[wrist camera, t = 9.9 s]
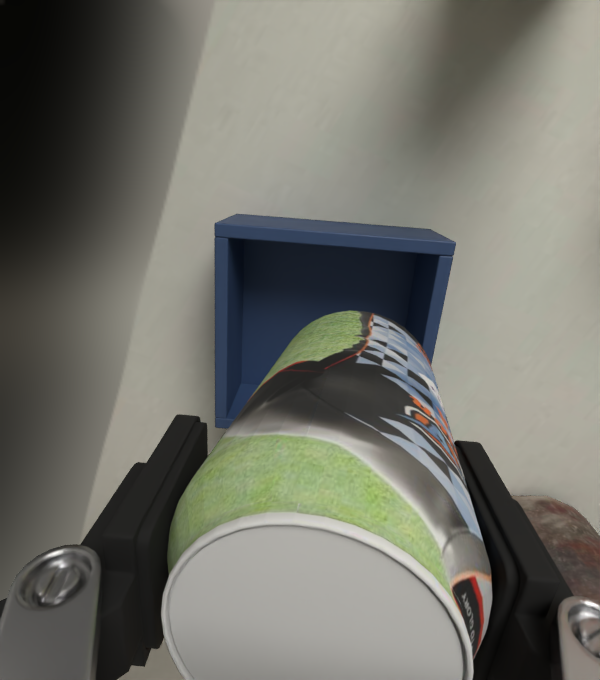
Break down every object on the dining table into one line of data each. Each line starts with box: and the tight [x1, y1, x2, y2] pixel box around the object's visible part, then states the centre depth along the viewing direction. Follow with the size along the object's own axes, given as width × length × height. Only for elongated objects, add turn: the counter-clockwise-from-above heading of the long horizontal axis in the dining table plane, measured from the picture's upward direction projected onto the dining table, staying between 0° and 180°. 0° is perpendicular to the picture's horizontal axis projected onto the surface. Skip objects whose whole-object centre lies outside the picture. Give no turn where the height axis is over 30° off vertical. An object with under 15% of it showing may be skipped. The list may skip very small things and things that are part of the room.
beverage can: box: [161, 311, 492, 680], centre depth 12 cm, size 6×7×12 cm
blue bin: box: [215, 214, 456, 429], centre depth 22 cm, size 10×10×5 cm
